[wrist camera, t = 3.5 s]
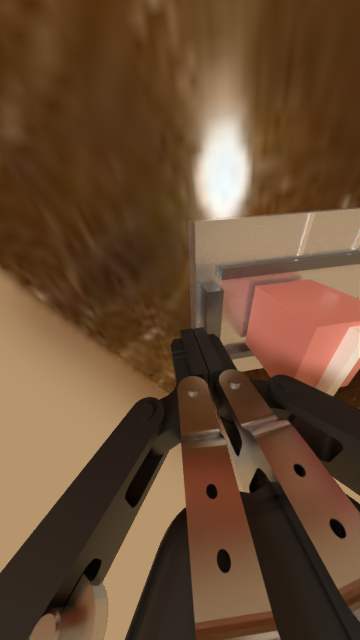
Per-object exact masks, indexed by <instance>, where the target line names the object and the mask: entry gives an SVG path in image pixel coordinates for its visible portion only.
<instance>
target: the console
mask: <svg viewBox="0 0 360 640" xmlns="http://www.w3.org/2000/svg"><path fill="white" fill-rule="evenodd" d="M188 241H189V271H190V300H191V329H193V328H200V327H204V328H205V330H206V332H207V334H214V335H216V336H217V337H218V338H220V340H221V342H222V344H223V345H224V347H225V349H226V351H227V352H228V354H229V356H230V358H231V359H232V361H233V363H234V365H235V366H236V368H237V370H238V371H241V372H242V371H248V370H254V369H260V368H263V366H262V365H261V364H260V362H259V361H258V360H257V358H256V357H255V356H254V354H253V353H252V352H251V350H250V349H249V348H248V346H247V345H246V344H245V341H246V336H247V330H248V325H249V319H250V314H251V308H252V303H253V297H254V291H255V286H258V285H266V284H275V283H283V282H291V281H299V280H307V279H311V280H313V281H316V282H318V283H321V284H323V285H326V286H328V287H331V288H333V289H336V290H338V291H341V292H343V293H346V294H348V295H351V296H353V297H355V298H358V299H360V207H351V208H339V209H327V210H314V211H302V212H290V213H277V214H265V215H253V216H240V217H228V218H216V219H203V220H191V221H188Z"/></svg>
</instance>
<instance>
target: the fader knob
mask: <svg viewBox="0 0 360 640" xmlns="http://www.w3.org/2000/svg"><path fill="white" fill-rule="evenodd" d="M245 344H246V345H247V346H248V348H249V349H250V350H251V352H252V353H253V354H254V356H255V357H256V358H257V360H258V361H259V362H260V364H261V365H262V366H263V368H264V369H265V370H266V372H267V373H268V374H269V376H270V377H271V378H272V377H273V376H275V375H279V374H282V375H287V376H290V377H293V378H295V379H297V380H299V381H301V382H303V383H305V384H308V385H310V386H312V387H314V388H316V389H318V390H320V391H322V392H325V393H327V394H329V395H331V396H334V395H335V393H336V392H337V390H338V389H339V387H343V386H347V385H348V384H349V383H350V381H351V380H352V378H353V377H354V376H355V374H356V373H357V371H358V370H359V369H360V299H358V298H355V297H353V296H351V295H348V294H346V293H343V292H341V291H338V290H336V289H333V288H331V287H328V286H326V285H323V284H321V283H318V282H316V281H313V280H311V279H307V280H299V281H291V282H283V283H275V284H266V285H258V286H255V291H254V297H253V303H252V308H251V314H250V319H249V325H248V330H247V336H246V341H245Z"/></svg>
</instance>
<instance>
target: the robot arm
mask: <svg viewBox="0 0 360 640" xmlns="http://www.w3.org/2000/svg"><path fill="white" fill-rule="evenodd" d="M180 337H181V339H174V340H173V342H172V344H171V351H172V359H173V366H174V372H175V378H176V387H175V389H174V390H173V391H172V393H170V394H169V395H168V396H166V397H164V398H162V399H160V400H158V399H156V398H153V397H148V398H143V399H141V400H139V401H138V402H137V403H136V404H135V405H134V406H133V407H132V409H131V410H130V411H129V412H128V413H127V415H126V416H125V417H124V418H123V420H122V421H121V422H120V424H119V425H118V426H117V427H116V429H115V430H114V431H113V432H112V434H111V435H110V436H109V437H108V439H107V440H106V441H105V443H104V444H103V445H102V446H101V447H100V449H99V450H98V451H97V452H96V454H95V455H94V456H93V458H92V459H91V460H90V461H89V462H88V464H87V465H86V466H85V467H84V469H83V470H82V471H81V472H80V474H79V475H78V476H77V477H76V479H75V480H74V481H73V482H72V484H71V485H70V486H69V487H68V489H67V490H66V491H65V493H64V494H63V495H62V496H61V498H60V499H59V500H58V501H57V503H56V504H55V505H54V506H53V508H52V509H51V510H50V511H49V513H48V514H47V515H46V516H45V518H44V519H43V520H42V521H41V523H40V524H39V525H38V526H37V528H36V529H35V530H34V531H33V533H32V534H31V535H30V537H29V538H28V539H27V540H26V542H25V543H24V544H23V545H22V546H21V548H20V549H19V551H18V552H17V553H16V554H15V555H14V557H13V558H12V559H11V560H10V562H9V563H8V564H7V565H6V567H5V568H4V569H3V570H2V572H1V573H0V640H103V639H104V636H105V632H106V626H107V620H108V619H107V618H108V597H107V592H106V589H105V587H104V585H103V583H102V582H103V580H104V578H105V576H106V574H107V572H108V570H109V568H110V566H111V564H112V562H113V560H114V558H115V556H116V554H117V553H118V551H119V549H120V547H121V545H122V543H123V541H124V539H125V537H126V535H127V533H128V531H129V529H130V527H131V525H132V523H133V521H134V519H135V517H136V515H137V513H138V511H139V509H140V507H141V505H142V503H143V501H144V499H145V497H146V496H147V494H148V492H149V490H150V488H151V486H152V484H153V482H154V480H155V478H156V476H157V474H158V472H159V470H160V468H161V466H162V464H163V462H164V460H165V458H166V456H167V454H168V452H169V450H170V449H172V448H173V447H174V446H176V445H177V444H179V443H181V446H182V460H183V473H184V486H185V500H186V507H185V508H184V509H183V510H182V511H181V512H180V513H179V514H178V515H177V516H176V518H175V519H174V520H173V521H172V523H171V524H170V526H169V527H168V529H167V531H166V533H165V535H164V537H163V539H162V541H161V543H160V546H159V548H158V551H157V553H156V556H155V559H154V562H153V564H152V567H151V570H150V572H149V575H148V578H147V581H146V583H145V586H144V589H143V592H142V594H141V597H140V600H139V602H138V605H137V608H136V611H135V613H134V616H133V619H132V621H131V624H130V627H129V630H128V632H127V635H126V638H125V640H360V504H359V503H358V502H356V501H355V500H354V499H352V498H351V497H349V496H348V495H346V494H345V493H344V492H343V490H342V489H341V488H340V486H339V485H338V484H337V483H336V481H335V480H334V479H333V477H334V478H335V479H336V480H338V481H339V482H341V483H342V484H344V485H345V486H347V487H348V488H350V489H351V490H352V491H354V492H355V493H357V494H358V495H360V409H359V408H357V407H354V406H352V405H350V404H348V403H346V402H344V401H342V400H340V399H337V398H335V397H333V396H331V395H329V394H327V393H325V392H322V391H320V390H318V389H316V388H314V387H312V386H310V385H308V384H305V383H303V382H301V381H299V380H297V379H295V378H293V377H290V376H287V375H282V374H279V375H275V376H273V377H272V378H271V379H270V381H261V380H253V379H250V378H248V377H247V376H246V375H245V374H244V373H242V372H241V371H238V370H237V368H236V366H235V365H234V363H233V361H232V359H231V358H230V356H229V354H228V352H227V351H226V349H225V347H224V345H223V344H222V342H221V340H220V338H218V337H217V336H216V335H214V334H207V332H206V330H205V328H204V327H200V328H193V329H186V330H180ZM212 402H214V403H215V406H216V415H215V411H214V407H213V403H212ZM216 416H217V419H218V421H219V423H220V426H221V428H222V431H223V433H224V436H225V438H226V440H227V442H228V445H229V448H230V450H231V452H232V455H233V457H234V460H235V464H236V470H237V474H238V477H239V480H240V483H241V485H242V488H243V490H244V492H239V489H238V485H237V481H236V477H235V474H234V470H233V467H232V463H231V459H230V455H229V452H228V448H227V444H226V441H225V439H224V437H223V435H222V434H221V433H220V430H219V427H218V423H217V419H216Z"/></svg>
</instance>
